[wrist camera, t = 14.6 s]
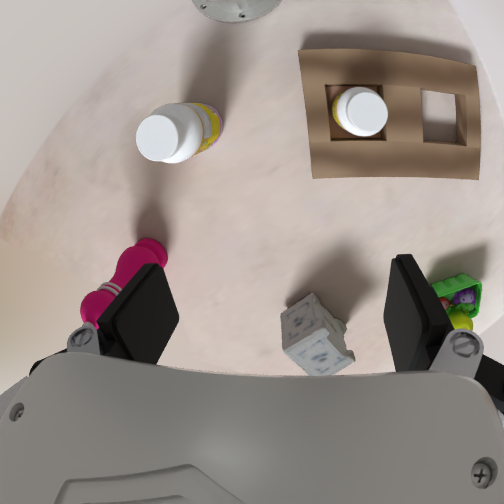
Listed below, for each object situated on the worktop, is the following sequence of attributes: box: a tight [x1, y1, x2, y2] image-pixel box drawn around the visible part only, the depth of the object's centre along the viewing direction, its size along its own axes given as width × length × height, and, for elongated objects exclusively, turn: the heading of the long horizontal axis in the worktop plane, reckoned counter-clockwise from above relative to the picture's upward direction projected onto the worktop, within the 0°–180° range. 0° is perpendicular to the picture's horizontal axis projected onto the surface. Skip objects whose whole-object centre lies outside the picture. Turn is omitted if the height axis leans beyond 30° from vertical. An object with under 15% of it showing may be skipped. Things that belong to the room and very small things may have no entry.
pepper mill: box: [80, 238, 167, 329], centre depth 38 cm, size 7×7×20 cm
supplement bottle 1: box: [136, 103, 222, 163], centre depth 30 cm, size 7×7×13 cm
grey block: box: [280, 293, 355, 376], centre depth 43 cm, size 10×8×10 cm
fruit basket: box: [429, 273, 482, 331], centre depth 36 cm, size 11×9×11 cm
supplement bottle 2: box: [332, 87, 388, 136], centre depth 27 cm, size 5×5×10 cm
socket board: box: [298, 49, 481, 180], centre depth 29 cm, size 16×24×3 cm, turn 98°
